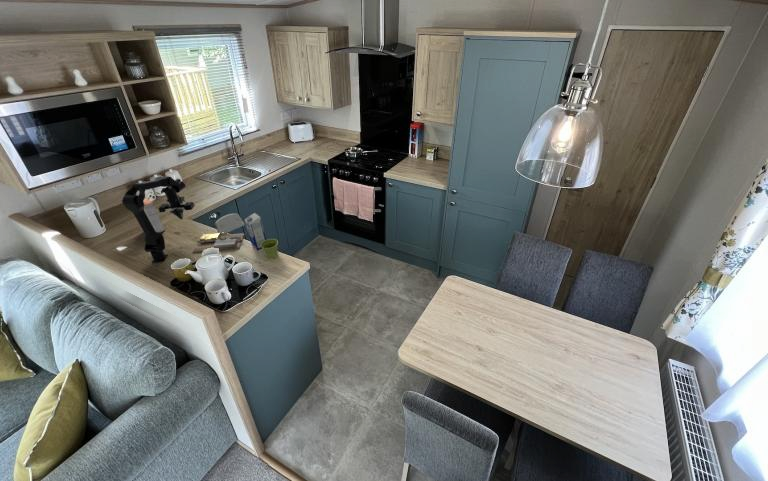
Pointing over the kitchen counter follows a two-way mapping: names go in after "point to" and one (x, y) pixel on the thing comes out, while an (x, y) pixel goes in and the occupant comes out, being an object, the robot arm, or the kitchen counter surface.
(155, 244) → the robot arm
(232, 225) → the grey rounded flat block
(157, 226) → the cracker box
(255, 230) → the milk carton
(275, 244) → the plant pot
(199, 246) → the hinge bed
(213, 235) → the brass leaf
